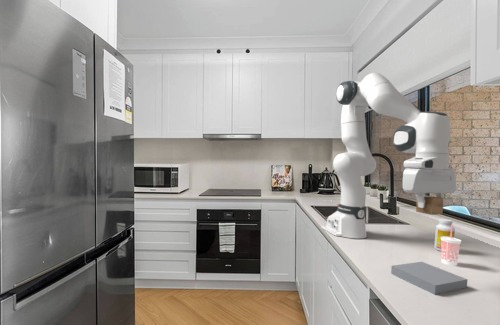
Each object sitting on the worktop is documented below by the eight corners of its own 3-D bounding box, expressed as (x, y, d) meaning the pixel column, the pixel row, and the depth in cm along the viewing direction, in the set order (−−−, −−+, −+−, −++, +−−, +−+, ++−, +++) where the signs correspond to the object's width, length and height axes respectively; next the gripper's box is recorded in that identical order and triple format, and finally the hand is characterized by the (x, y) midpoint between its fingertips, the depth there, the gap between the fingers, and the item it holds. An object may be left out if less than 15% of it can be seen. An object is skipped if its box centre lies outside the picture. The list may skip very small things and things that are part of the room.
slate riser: (391, 273, 89) (391, 265, 89) (421, 268, 95) (421, 261, 95) (434, 294, 76) (435, 285, 76) (466, 287, 82) (467, 279, 82)
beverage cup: (462, 265, 101) (465, 226, 101) (454, 267, 98) (457, 227, 97) (443, 259, 106) (446, 222, 106) (435, 261, 103) (438, 223, 102)
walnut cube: (416, 211, 89) (416, 195, 89) (426, 211, 91) (427, 195, 91) (431, 214, 84) (432, 198, 84) (442, 214, 86) (443, 198, 86)
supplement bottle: (456, 254, 113) (458, 222, 113) (438, 251, 115) (440, 220, 114) (448, 248, 120) (450, 218, 120) (431, 246, 121) (433, 217, 121)
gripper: (442, 164, 95) (440, 205, 95) (399, 161, 87) (397, 206, 87) (463, 164, 89) (461, 208, 89) (418, 162, 81) (416, 210, 81)
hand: (429, 207), depth 88 cm, fingers closed on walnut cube, 5 cm apart
